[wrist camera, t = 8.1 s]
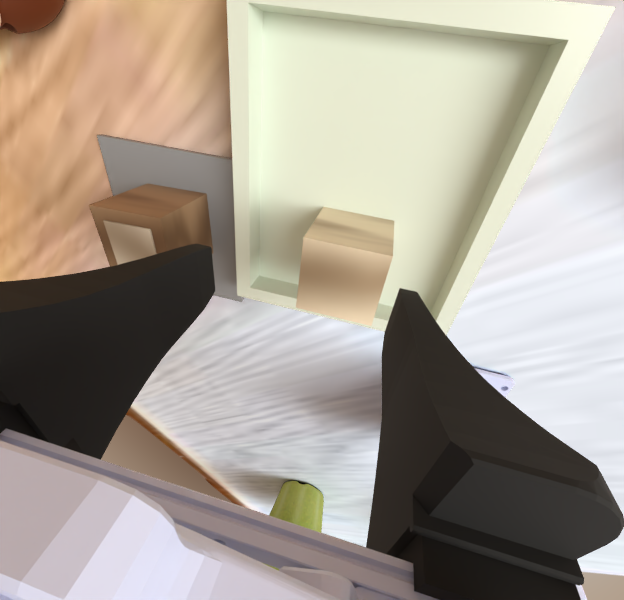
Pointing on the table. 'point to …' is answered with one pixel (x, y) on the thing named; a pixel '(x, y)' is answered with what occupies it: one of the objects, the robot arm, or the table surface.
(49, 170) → the table surface
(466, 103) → the parts tray
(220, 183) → the felt mat
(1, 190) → the table surface
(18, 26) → the poop emoji
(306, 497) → the plant pot
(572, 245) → the table surface
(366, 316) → the maple block
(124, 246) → the walnut block
